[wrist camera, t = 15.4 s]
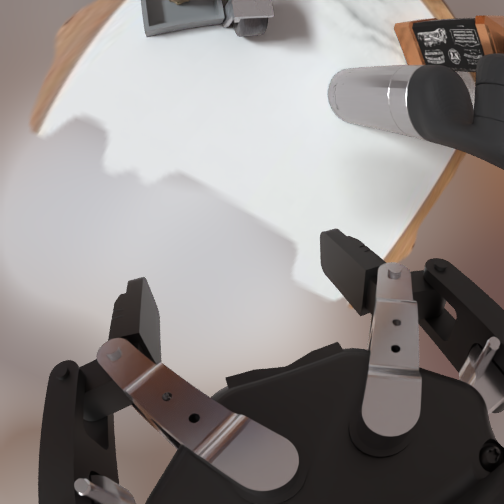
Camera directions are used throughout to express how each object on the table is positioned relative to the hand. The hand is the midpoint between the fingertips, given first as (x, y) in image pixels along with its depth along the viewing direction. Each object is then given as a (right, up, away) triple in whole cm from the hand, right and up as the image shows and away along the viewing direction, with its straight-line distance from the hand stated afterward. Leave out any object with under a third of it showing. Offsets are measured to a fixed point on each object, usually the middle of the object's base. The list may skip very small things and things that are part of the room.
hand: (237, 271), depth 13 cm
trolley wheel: (-2, +33, +17) cm, 37 cm away
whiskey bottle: (+31, +39, +24) cm, 55 cm away
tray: (-9, +35, +14) cm, 39 cm away
